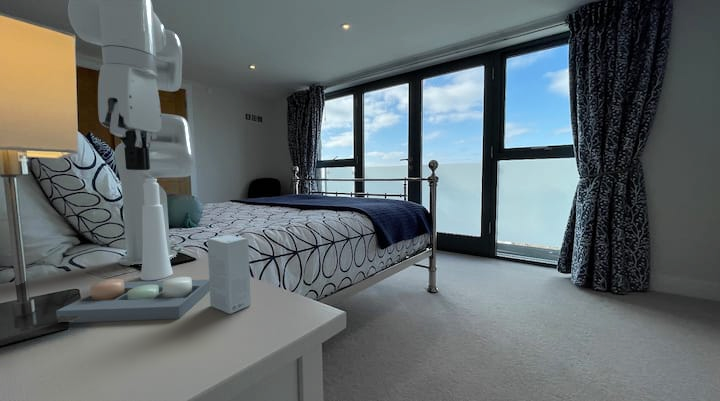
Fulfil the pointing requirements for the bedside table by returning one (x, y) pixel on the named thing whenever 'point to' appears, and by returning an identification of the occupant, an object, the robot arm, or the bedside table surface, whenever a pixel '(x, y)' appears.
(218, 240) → the skincare box
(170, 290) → the ivory button
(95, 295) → the terracotta button
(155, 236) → the cosmetic bottle
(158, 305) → the button board
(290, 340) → the bedside table surface
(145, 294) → the sage button
